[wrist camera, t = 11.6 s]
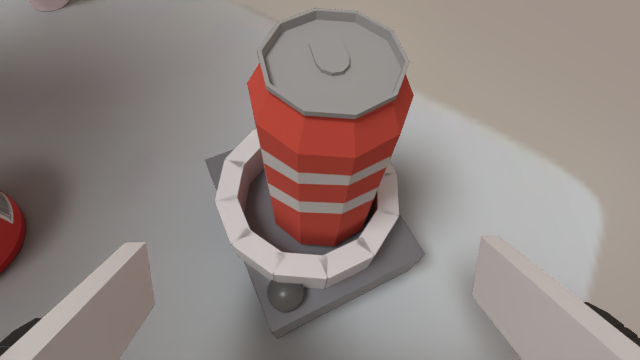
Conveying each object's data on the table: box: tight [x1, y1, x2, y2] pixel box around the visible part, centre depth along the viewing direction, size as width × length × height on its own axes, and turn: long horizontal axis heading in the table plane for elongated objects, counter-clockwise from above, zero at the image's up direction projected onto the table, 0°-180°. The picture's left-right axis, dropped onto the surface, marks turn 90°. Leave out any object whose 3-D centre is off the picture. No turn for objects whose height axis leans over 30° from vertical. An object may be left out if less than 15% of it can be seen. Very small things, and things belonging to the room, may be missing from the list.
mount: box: [205, 128, 425, 338], centre depth 23 cm, size 12×10×6 cm
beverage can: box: [247, 8, 414, 246], centre depth 17 cm, size 6×6×12 cm
